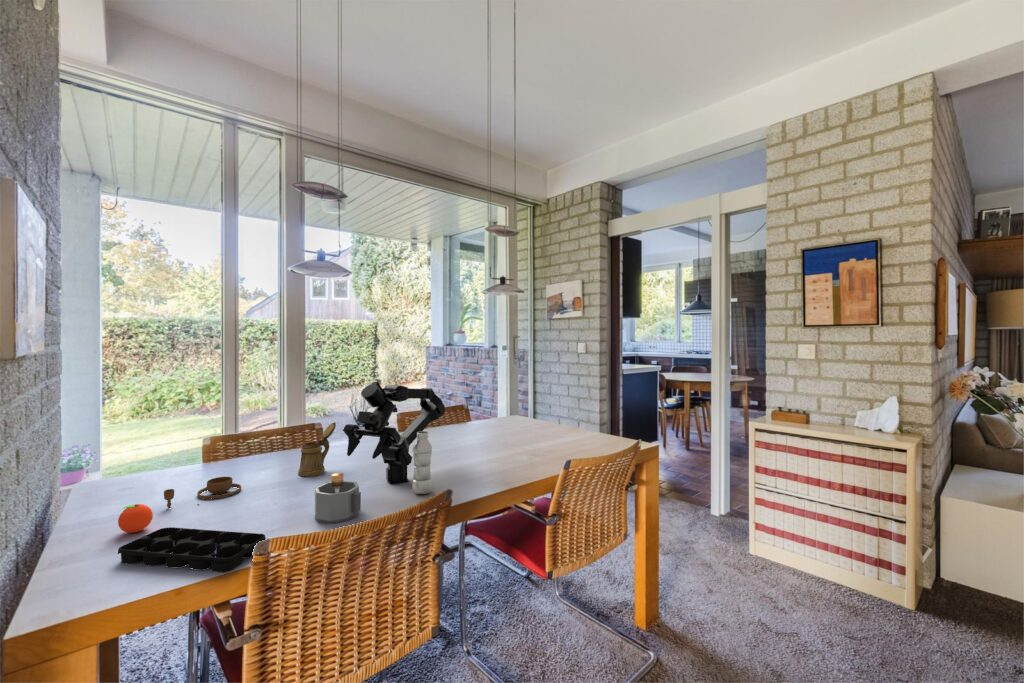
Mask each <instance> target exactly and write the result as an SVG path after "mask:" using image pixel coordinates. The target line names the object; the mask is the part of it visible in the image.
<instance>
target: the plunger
mask: <svg viewBox="0 0 1024 683" xmlns="http://www.w3.org/2000/svg"><path fill="white" fill-rule="evenodd" d="M343 480H344V473H342V472H334V473H332V474H330V482H331V486H332V487H335V493H339V486H342V485H343Z"/></svg>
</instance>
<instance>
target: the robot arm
mask: <svg viewBox="0 0 1024 683" xmlns="http://www.w3.org/2000/svg"><path fill="white" fill-rule="evenodd" d="M360 395H361V397H363V399H364V400H365V402H366V403H367V404H368V405H369V406H370V407H371V408H374V410H373V411H371V412H370V411H362V410H361V411H360V410H359V411H358V414H357V418H356V422H359V423H362V424H361V426H362V428H364V429H362V428H360V427H359V425H358V424H351V423H348V424H345V426H344V427H343V429H342V431H343V432H344V434H345V435H346V436H347V438H348V440H347V441H348V444H347V452H346V455H347V456H348V457H350V456H351V455H352V454H353V452H355V449H356V448H357V447H358V446H359V444H360V443H361V441H360V440H362V438H363V436H364V437H374V438H375V437H376V438H378V440H379V441H378V442H377V445H376V446H375V448H374V451H373V453H372V459H373V460H374V459H375V460H376V458H377V457H379V456H380V455H381V457H382V461H383V463H384V464H387V467H386V469H385V470H386V471H385V473H386V474H385V479H386V480H387V482H388V483H389V484H390V485H394V483H395V484H399V483H401V482H402V483H406V481H408V482H409V479H408V466H410V464H411V463H412V460H413V455H411V454H410V446H411V445H412V444H413V442H415V440H416V439H417V432H419V431H425V429H426V428H427V427H428V425H429V424H430V423H432V422H434V421H438V420H439V419H440V418H442V417H443V415H444V414H445V412H446V406H445V405H444V403H443V400H442V399H441V398H440V397H439V396H438V395H437V394H436V393H435V391H434V390H433V389H432V388H426V387H424V388H423V387H422V388H409V387H408V386H405V385H400V384H386V385H385V386H384V388H383V387H382V386H381V384H380V383H379V381H372V383H371V384H368V385H367V386H365V387H364V388H363V389H362V390H361V392H360ZM410 399H419V400H420V401H419V405H420V414H419V415H418V416H417V417H416V418H415V419H414V420H413V421H412V422H411V424H410V425H409V426H408V427H407V428H406V429H405V430H404V431H403V432H402V433H401V434H400V433H399V431H398V430H397V428H396V427H389V425H390V423H389V420H390V419H391V416H392V414H393V413H398V408H397V405H396V404H394V402H395V403H396V402H397V403H401V402H406V401H407V400H410Z"/></svg>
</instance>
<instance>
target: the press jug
mask: <svg viewBox="0 0 1024 683" xmlns="http://www.w3.org/2000/svg"><path fill="white" fill-rule="evenodd" d="M361 494H362V492H360V486H359V485H358V482H357V481H351V480H345V479H343V485H342V486H339V493H335V487H332V486H331V481H329V482H326V483H323V484H321V485H318V486H316V487H314V520H315V521H316V522H317V523H320V524H321V523H322V524H327V523H332V524H340V523H344V522H348V521H350V520H352V519H354V518H356V517H357V516H358V515H359V512H361V510H362V509H361V507H362V506H361V505H362V504H361V502H362V501H361V500H362V499H361V498H362V495H361Z"/></svg>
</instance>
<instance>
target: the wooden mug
mask: <svg viewBox="0 0 1024 683" xmlns="http://www.w3.org/2000/svg"><path fill="white" fill-rule="evenodd" d="M336 427H337V426H336V422H335V421H334V422H332V423H331V424H329V425H328V426H326V428H325V429H324V431H323V433H322V438H321V439H318V440H317V441H306V442H303V443H302V445H301V446H302V447H301V448H300V453H301V455H300V456H301V457H300V464H299V469H298V471H297V472H298V473H297V475H298V476H300V477H304V476H306V477H307V476H309V477H316V476H319V474H320V475H323V474H324V473H325V472H326V471H325V468H326V467H325V466H324V462H325V459H326V456H327V454H328V453H329V450H330V441H329V439H328V438H330V437H331V436H332V434H333V433H334V431H335V429H336ZM323 447H324V449H323ZM322 450H323V451H322ZM315 475H316V476H315ZM306 477H305V478H306ZM307 478H308V477H307Z"/></svg>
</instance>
